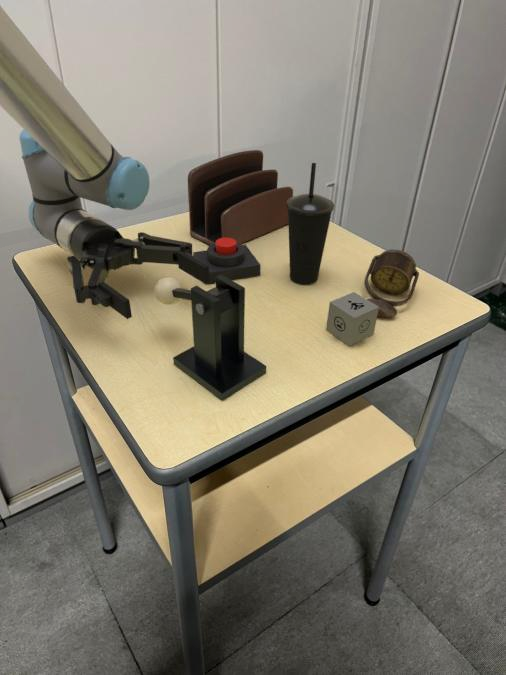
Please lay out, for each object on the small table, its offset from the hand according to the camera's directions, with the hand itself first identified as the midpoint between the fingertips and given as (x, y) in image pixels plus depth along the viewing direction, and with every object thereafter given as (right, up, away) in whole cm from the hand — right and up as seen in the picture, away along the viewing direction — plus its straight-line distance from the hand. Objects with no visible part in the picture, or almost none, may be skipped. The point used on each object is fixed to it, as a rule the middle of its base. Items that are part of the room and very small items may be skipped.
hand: (170, 291), depth 72 cm
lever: (+4, -3, -3) cm, 6 cm away
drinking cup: (+21, +4, +18) cm, 28 cm away
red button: (+7, +9, +18) cm, 21 cm away
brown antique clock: (+33, 0, +14) cm, 36 cm away
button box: (+7, +6, +20) cm, 22 cm away
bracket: (+7, -11, -2) cm, 13 cm away
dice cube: (+26, -6, +6) cm, 27 cm away
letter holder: (+9, +16, +34) cm, 38 cm away
